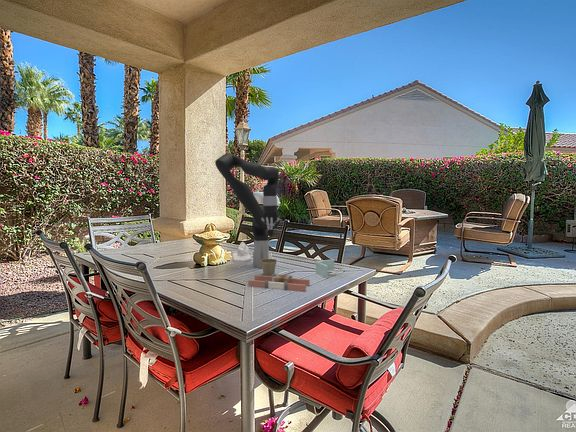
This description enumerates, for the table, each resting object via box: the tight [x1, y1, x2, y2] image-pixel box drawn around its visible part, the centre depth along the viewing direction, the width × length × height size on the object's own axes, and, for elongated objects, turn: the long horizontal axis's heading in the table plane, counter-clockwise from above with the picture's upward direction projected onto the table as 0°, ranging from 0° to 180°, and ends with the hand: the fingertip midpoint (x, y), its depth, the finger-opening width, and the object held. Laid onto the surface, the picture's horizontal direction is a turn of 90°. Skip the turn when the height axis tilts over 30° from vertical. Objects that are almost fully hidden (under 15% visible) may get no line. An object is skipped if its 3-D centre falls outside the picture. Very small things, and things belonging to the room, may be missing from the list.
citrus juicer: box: [232, 241, 252, 264], centre depth 211 cm, size 12×15×14 cm
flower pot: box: [261, 258, 278, 276], centre depth 176 cm, size 9×9×9 cm
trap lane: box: [247, 273, 311, 292], centre depth 158 cm, size 30×11×4 cm, turn 74°
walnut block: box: [274, 274, 291, 283], centre depth 158 cm, size 7×6×5 cm
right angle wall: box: [315, 259, 337, 279], centre depth 178 cm, size 12×12×8 cm
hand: (270, 236), depth 166 cm, fingers closed
